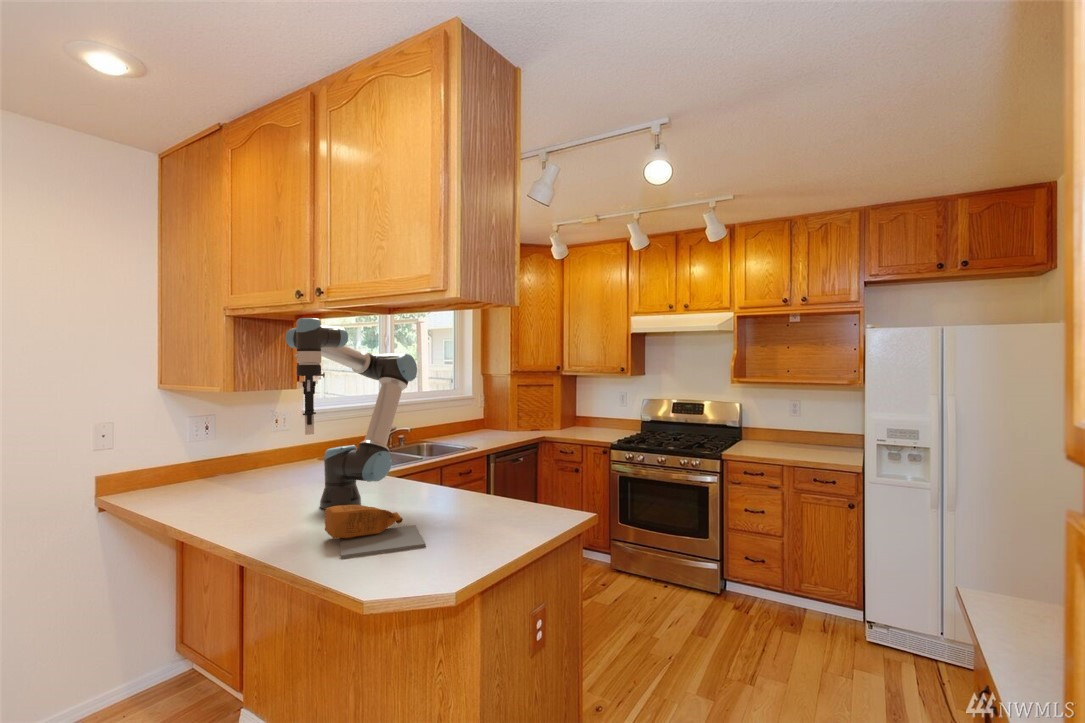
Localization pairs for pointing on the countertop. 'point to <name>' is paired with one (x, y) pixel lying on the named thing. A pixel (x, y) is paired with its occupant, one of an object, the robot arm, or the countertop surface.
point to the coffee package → (357, 520)
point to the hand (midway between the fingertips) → (309, 434)
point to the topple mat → (382, 542)
